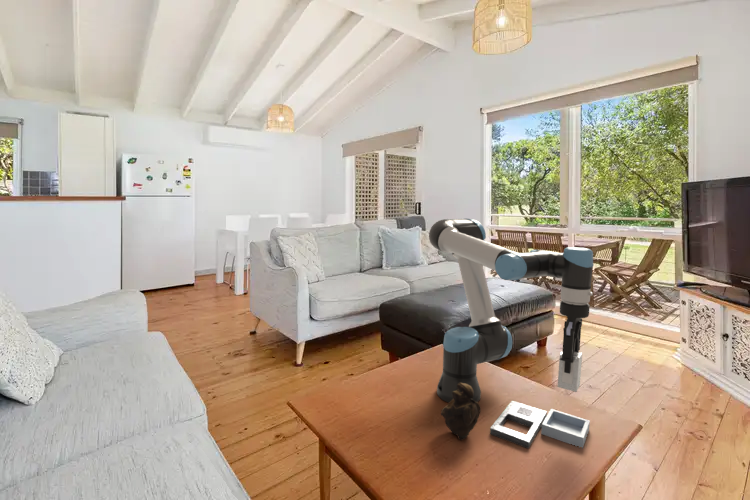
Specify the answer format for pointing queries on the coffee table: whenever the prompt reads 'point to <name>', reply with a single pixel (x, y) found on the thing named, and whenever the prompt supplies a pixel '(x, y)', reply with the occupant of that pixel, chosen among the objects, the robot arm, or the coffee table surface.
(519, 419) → the grey slotted plate
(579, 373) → the knob block
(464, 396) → the sculpture
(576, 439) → the tray
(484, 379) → the coffee table surface
